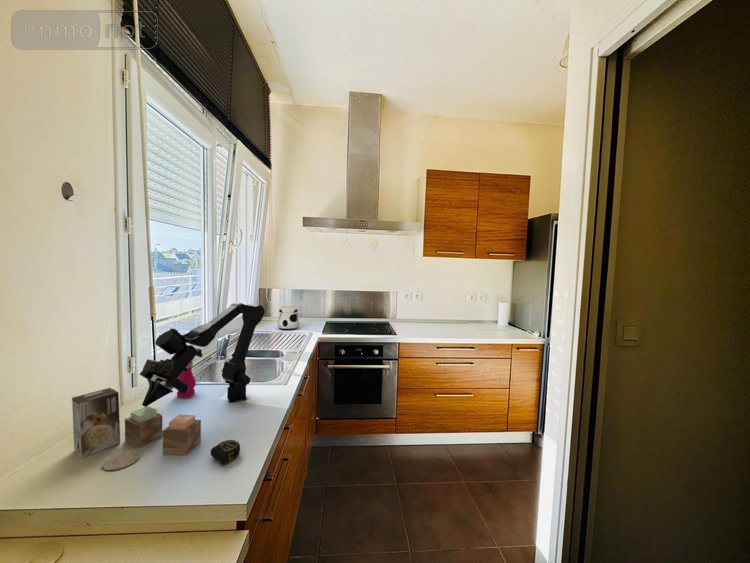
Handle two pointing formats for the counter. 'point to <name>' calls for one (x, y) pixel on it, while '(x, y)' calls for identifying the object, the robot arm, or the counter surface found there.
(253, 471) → the counter surface
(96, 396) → the coffee box
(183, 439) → the wooden box
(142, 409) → the pale green cube
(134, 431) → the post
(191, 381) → the pepper mill
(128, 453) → the flatbread
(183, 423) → the pink dotted cube
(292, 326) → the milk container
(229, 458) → the tape measure
